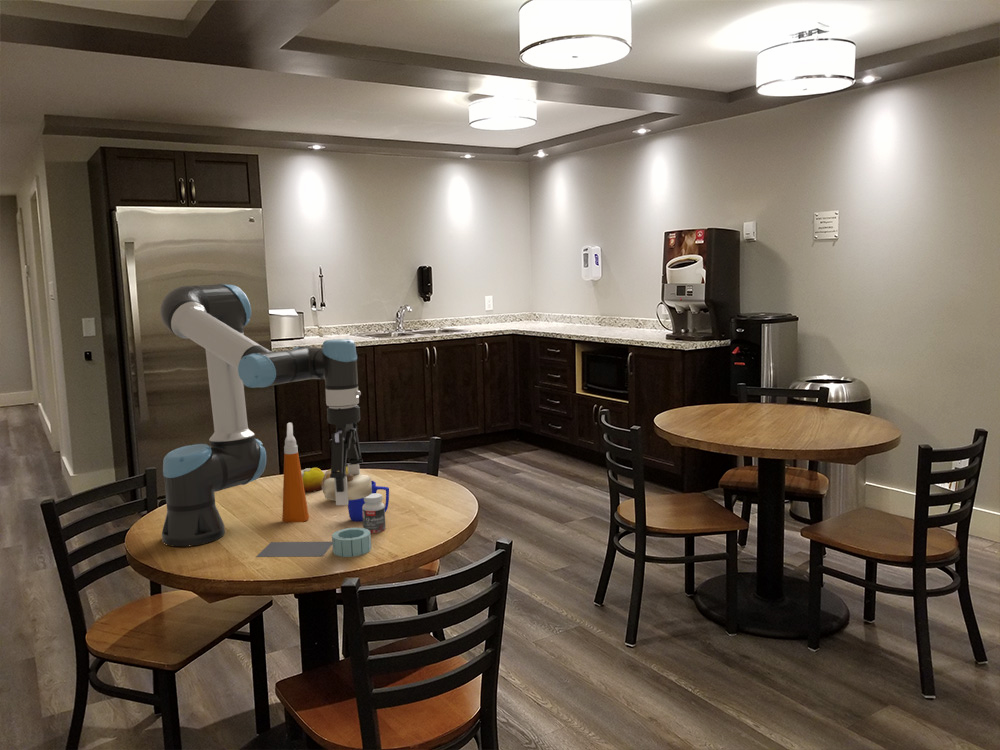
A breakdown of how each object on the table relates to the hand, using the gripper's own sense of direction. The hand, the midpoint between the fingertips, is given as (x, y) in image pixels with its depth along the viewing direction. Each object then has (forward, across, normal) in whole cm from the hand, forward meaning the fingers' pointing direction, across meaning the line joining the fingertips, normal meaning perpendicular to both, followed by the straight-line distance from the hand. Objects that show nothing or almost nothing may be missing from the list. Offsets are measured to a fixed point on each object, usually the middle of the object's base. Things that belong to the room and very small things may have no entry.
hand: (348, 497), depth 185 cm
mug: (+14, +26, +2) cm, 30 cm away
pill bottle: (+14, +15, -2) cm, 21 cm away
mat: (+14, +1, +14) cm, 20 cm away
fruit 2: (+14, +45, +15) cm, 50 cm away
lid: (-1, 0, 0) cm, 1 cm away
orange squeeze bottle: (+14, +28, +23) cm, 39 cm away
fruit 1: (+14, +58, +29) cm, 66 cm away
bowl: (+14, 0, 0) cm, 14 cm away
